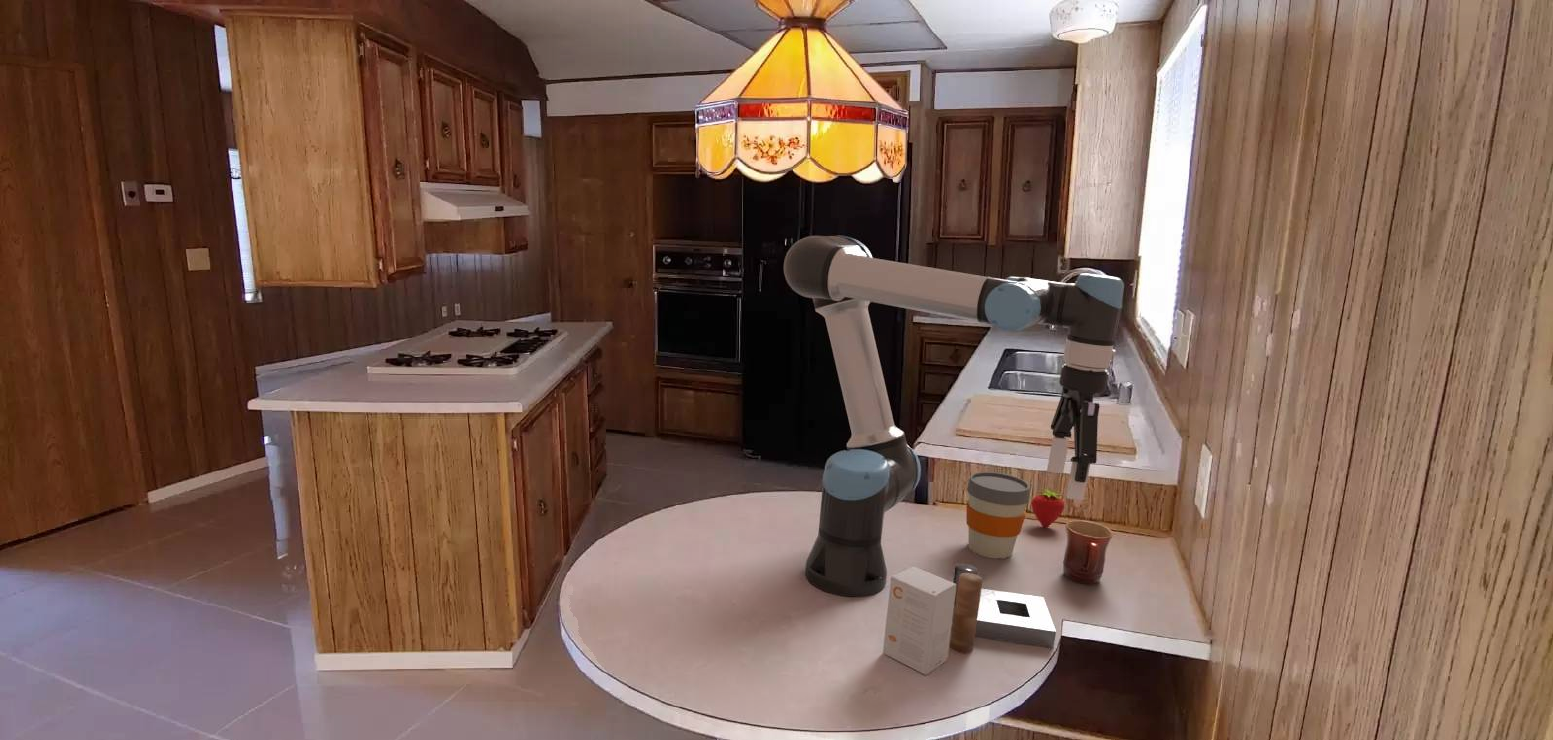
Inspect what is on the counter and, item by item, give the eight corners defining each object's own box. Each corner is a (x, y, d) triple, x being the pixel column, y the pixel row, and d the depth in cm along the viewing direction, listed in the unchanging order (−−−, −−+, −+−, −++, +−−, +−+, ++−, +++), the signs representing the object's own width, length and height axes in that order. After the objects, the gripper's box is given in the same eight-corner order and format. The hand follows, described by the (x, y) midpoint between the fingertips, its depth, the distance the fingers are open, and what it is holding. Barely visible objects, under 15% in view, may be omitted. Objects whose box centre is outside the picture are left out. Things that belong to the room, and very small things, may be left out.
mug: (1055, 564, 162) (1062, 517, 160) (1100, 571, 161) (1108, 524, 159) (1063, 591, 151) (1072, 540, 149) (1112, 599, 149) (1121, 547, 147)
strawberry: (1023, 521, 185) (1029, 480, 183) (1053, 522, 186) (1059, 481, 184) (1035, 532, 179) (1042, 490, 177) (1066, 532, 180) (1073, 490, 178)
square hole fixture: (950, 633, 132) (957, 583, 130) (946, 599, 144) (952, 553, 142) (1053, 648, 130) (1061, 597, 128) (1040, 612, 142) (1048, 565, 140)
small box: (947, 661, 124) (958, 583, 121) (925, 676, 119) (935, 596, 116) (904, 639, 129) (913, 564, 126) (881, 653, 124) (890, 576, 122)
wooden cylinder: (950, 651, 126) (960, 581, 124) (949, 639, 130) (958, 571, 128) (973, 655, 126) (983, 584, 124) (972, 643, 129) (981, 574, 127)
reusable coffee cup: (1025, 566, 161) (1035, 495, 158) (961, 557, 162) (971, 487, 159) (1016, 541, 173) (1026, 475, 170) (957, 533, 174) (966, 468, 172)
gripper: (1133, 385, 122) (1108, 514, 127) (1087, 355, 147) (1068, 464, 151) (1083, 379, 123) (1060, 508, 128) (1046, 350, 147) (1027, 460, 152)
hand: (1064, 485), depth 139 cm, fingers open, 13 cm apart
